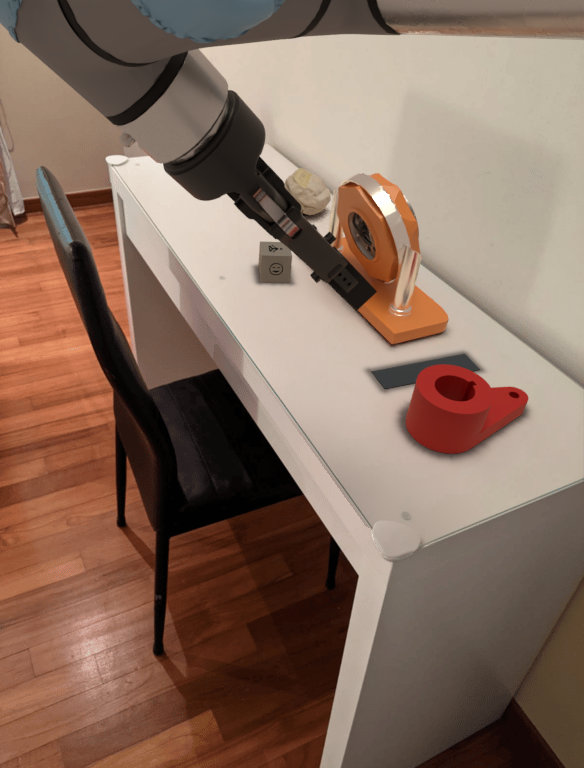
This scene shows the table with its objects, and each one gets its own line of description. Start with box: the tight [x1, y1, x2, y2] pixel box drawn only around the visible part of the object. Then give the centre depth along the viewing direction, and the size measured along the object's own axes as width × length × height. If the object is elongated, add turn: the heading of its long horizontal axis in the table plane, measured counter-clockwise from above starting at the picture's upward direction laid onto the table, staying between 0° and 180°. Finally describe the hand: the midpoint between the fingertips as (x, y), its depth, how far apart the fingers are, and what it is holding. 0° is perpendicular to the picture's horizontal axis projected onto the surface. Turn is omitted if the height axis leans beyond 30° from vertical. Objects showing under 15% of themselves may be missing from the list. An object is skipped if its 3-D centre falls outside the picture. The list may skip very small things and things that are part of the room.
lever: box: [405, 364, 529, 455], centre depth 79 cm, size 18×9×7 cm, turn 115°
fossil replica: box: [284, 167, 332, 216], centre depth 125 cm, size 12×8×10 cm
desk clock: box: [327, 172, 450, 345], centre depth 98 cm, size 12×30×20 cm, turn 27°
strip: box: [370, 353, 481, 390], centre depth 88 cm, size 4×16×1 cm, turn 112°
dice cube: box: [257, 241, 293, 284], centre depth 104 cm, size 5×5×5 cm
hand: (363, 297), depth 60 cm, fingers closed
